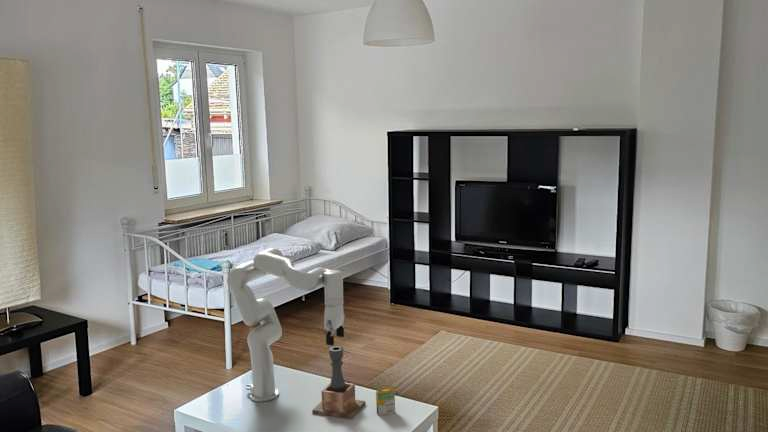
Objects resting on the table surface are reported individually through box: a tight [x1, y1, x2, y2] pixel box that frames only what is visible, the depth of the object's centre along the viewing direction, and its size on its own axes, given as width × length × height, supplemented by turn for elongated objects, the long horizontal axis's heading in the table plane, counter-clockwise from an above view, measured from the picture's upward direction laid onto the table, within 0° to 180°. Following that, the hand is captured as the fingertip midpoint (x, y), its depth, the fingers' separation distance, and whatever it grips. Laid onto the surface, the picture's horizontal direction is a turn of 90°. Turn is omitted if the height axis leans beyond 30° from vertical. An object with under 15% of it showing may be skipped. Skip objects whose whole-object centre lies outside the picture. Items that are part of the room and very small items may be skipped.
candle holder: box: [328, 345, 346, 393], centre depth 263 cm, size 6×6×25 cm
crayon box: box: [375, 386, 396, 416], centre depth 259 cm, size 7×3×12 cm, turn 106°
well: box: [311, 382, 366, 420], centre depth 264 cm, size 18×14×10 cm
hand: (335, 340), depth 260 cm, fingers open, 9 cm apart
